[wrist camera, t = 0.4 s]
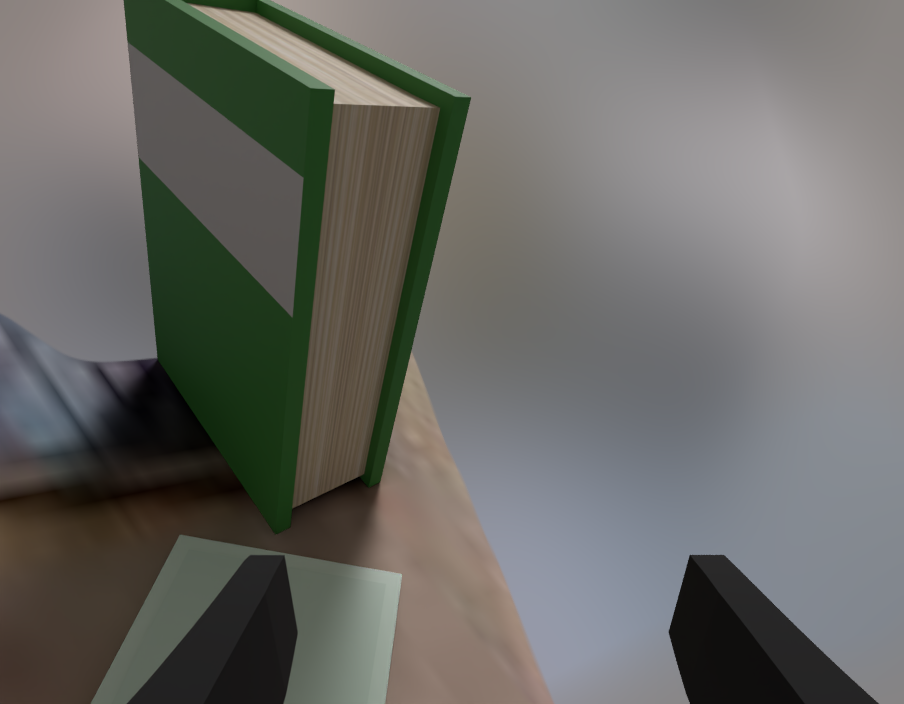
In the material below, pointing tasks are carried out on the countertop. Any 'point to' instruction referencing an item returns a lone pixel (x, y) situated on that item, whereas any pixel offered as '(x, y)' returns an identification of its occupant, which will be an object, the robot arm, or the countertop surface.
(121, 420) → the countertop surface
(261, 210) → the hardback book
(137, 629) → the tray
